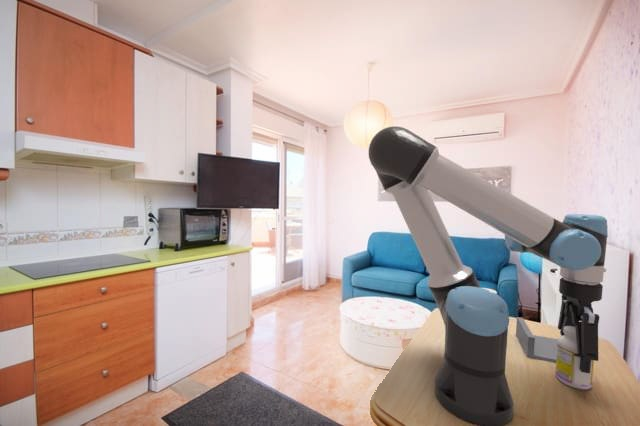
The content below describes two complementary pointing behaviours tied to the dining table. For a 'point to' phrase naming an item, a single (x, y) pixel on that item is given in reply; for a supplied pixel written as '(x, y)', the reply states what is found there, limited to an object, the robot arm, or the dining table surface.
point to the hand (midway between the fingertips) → (573, 372)
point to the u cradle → (536, 343)
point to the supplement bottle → (568, 358)
